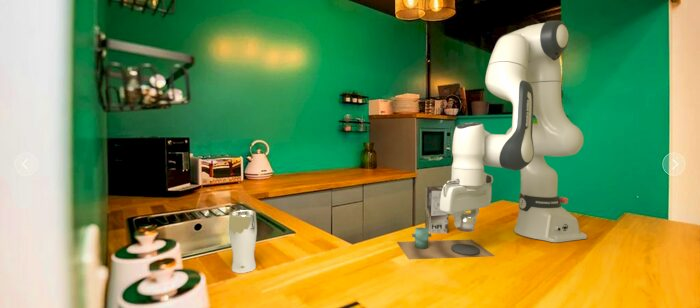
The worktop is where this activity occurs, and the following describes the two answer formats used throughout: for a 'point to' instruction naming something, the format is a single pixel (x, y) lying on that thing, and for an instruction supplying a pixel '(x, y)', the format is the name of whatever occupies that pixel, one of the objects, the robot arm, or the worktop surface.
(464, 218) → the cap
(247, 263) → the beer glass
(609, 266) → the worktop surface
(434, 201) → the coffee box
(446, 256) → the base board
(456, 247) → the pad
